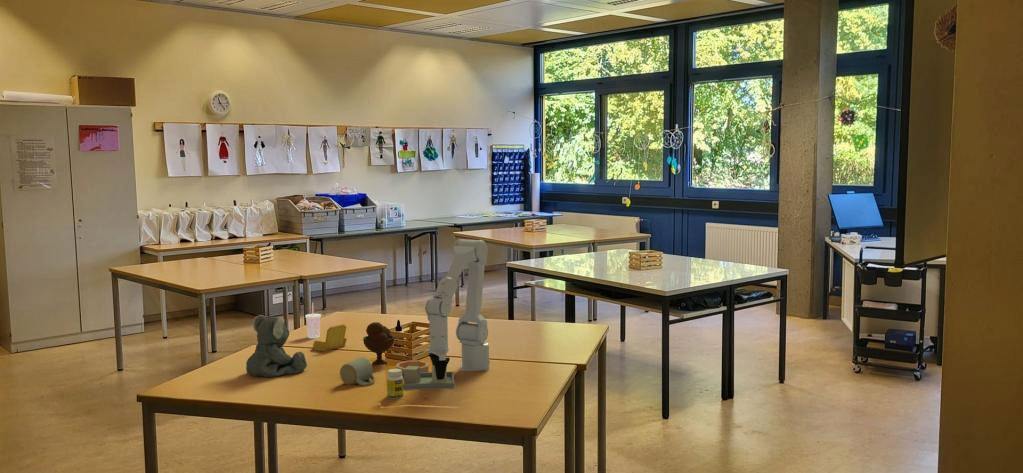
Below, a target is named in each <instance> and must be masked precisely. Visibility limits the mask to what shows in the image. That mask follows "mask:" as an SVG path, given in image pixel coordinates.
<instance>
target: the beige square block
mask: <svg viewBox="0 0 1023 473" xmlns="http://www.w3.org/2000/svg"><path fill="white" fill-rule="evenodd" d="M418 383H420V366H407V367H406V368H405V369H404V384H418Z"/></svg>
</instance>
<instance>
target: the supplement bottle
mask: <svg viewBox="0 0 1023 473" xmlns="http://www.w3.org/2000/svg"><path fill="white" fill-rule="evenodd" d="M387 375H388V376H387V378H386V393H387V394H386V397H387V398H388V399H392V400H396V399H401V398H404V391H403V377H402V376H401V375H402V370H401V369H396V368H391V369H388V370H387Z"/></svg>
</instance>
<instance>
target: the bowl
mask: <svg viewBox="0 0 1023 473" xmlns="http://www.w3.org/2000/svg"><path fill="white" fill-rule="evenodd" d="M429 365H430V364H429V362H427V361H425V360H424V361H423V360H405V361H400V362H398V363H396V365H395V369H401V370H402V373H404V369H405V368H406V367H407V366H420V372H430V367H429Z"/></svg>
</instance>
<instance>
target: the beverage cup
mask: <svg viewBox="0 0 1023 473" xmlns="http://www.w3.org/2000/svg"><path fill="white" fill-rule="evenodd" d="M311 308H312V309H311V311H312V312H311V313H308V314H305V320H306V322H305V324H306V330H307V331H306V332H307V338H308V339H318V337H319V338H320V336H321V316H322V314H321V313H315V312H314V302H312V303H311Z"/></svg>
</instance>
